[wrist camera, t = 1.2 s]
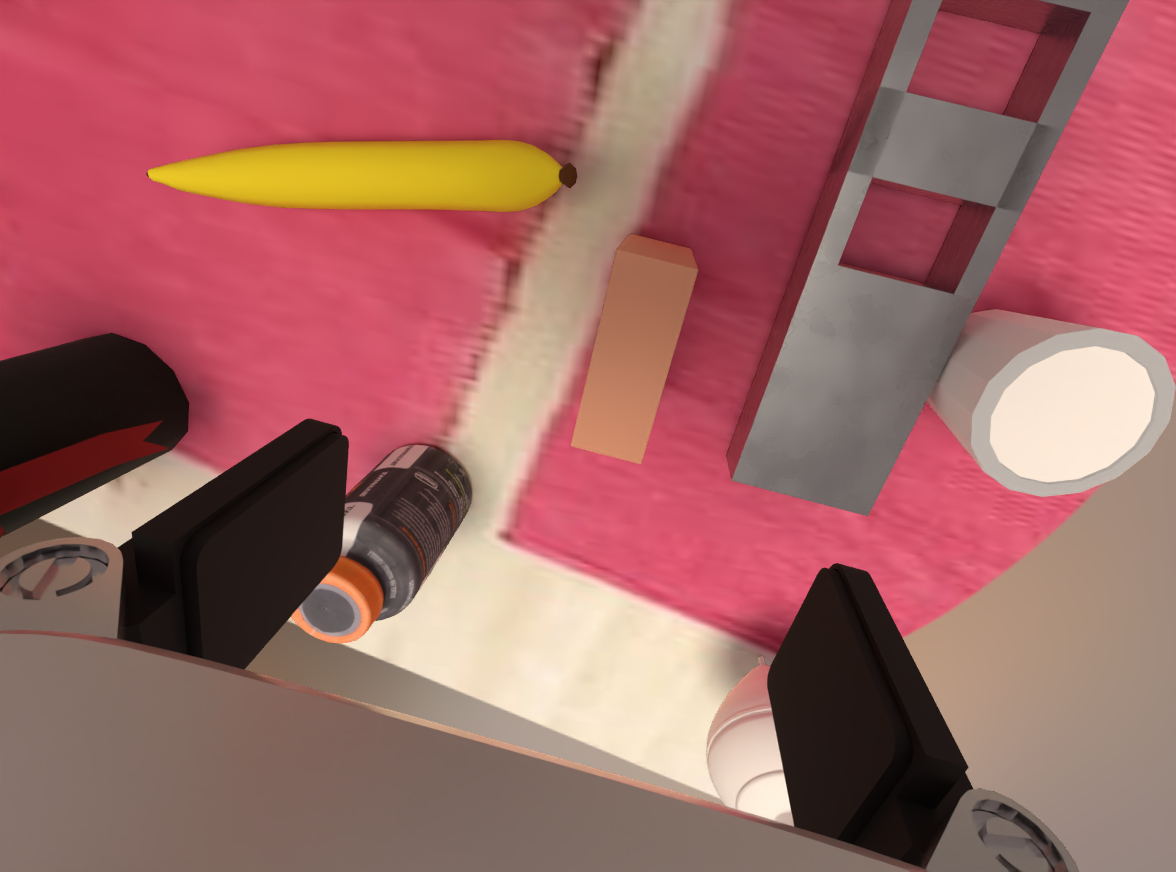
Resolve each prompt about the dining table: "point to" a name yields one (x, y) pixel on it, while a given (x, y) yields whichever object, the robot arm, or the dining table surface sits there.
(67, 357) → the wine bottle
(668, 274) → the orange block
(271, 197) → the banana
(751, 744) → the spinning top
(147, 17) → the dining table surface
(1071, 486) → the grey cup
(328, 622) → the pill bottle
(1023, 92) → the grey slotted block
